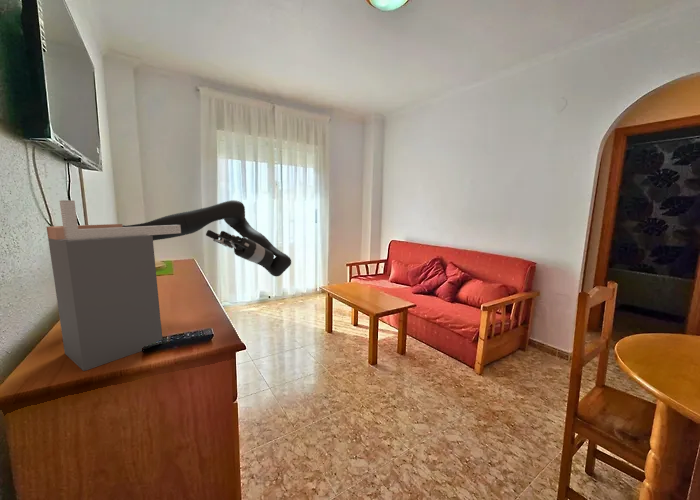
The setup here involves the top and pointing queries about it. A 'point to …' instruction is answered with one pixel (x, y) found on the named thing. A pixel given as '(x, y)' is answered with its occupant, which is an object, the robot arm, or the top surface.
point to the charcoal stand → (105, 295)
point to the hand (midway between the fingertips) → (213, 232)
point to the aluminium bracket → (98, 233)
